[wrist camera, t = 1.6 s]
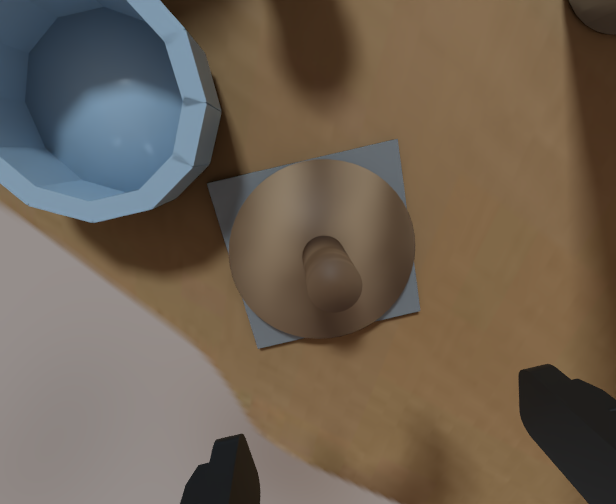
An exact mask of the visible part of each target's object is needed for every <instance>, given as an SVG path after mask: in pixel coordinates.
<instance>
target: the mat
mask: <svg viewBox="0 0 616 504" xmlns="http://www.w3.org/2000/svg"><path fill="white" fill-rule="evenodd" d="M314 159H332V160H340V161H345V162H349V163H353V164H356V165H358V166H361V167H363V168H366V169H368V170H369V171H371V172H373V173H375V174H376V175H378V176H379V177H380V178H382V179H383V180H384V181H386V182H387V183H388V184H389V185H390V186H391V187H392V188H393V189H394V190H395V192H396V193H397V194H398V196H399V197H400V198H401V200H402V201H403V203H404V205H405V207H406V199H405V192H404V184H403V177H402V169H401V161H400V154H399V146H398V139H395V140H390V141H386V142H382V143H377V144H373V145H369V146H365V147H360V148H356V149H352V150H347V151H343V152H339V153H335V154H330V155H326V156H322V157H317V158H313V159H309V160H314ZM305 161H308V160H305ZM300 162H302V161H300ZM296 163H299V162H296ZM292 164H295V163H292ZM292 164H288V165H283V166H279V167H275V168H270V169H266V170H262V171H258V172H253V173H249V174H245V175H240V176H236V177H232V178H228V179H223V180H219V181H215V182H210V183H207V186H208V189H209V193H210V196H211V199H212V202H213V205H214V209H215V212H216V215H217V218H218V221H219V225H220V228H221V231H222V234H223V238H224V241H225V244H226V247H227V250H228V254H229V241H230V235H231V230H232V227H233V224H234V221H235V218H236V216H237V214H238V212H239V210H240V208H241V206H242V205H243V203H244V202H245V200H246V199H247V197H248V196H249V195H250V194H251V193H252V192H253V190H254V189H255V188H256V187H257V186H258V185H259V184H260V183H261V182H263V181H264V180H265V179H266V178H267V177H269V176H270V175H272V174H274V173H275V172H277V171H278V170H280V169H283V168H285V167H287V166H289V165H292ZM406 209H407V207H406ZM242 299H243V298H242ZM243 302H244V305H245V308H246V312H247V315H248V318H249V321H250V324H251V328H252V331H253V334H254V337H255V341H256V344H257V347H258V349H259V348H263V347H268V346H272V345H276V344H281V343H285V342H289V341H293V340H298V339H302V338H305V337H299V336H295V335H291V334H288V333H285V332H283V331H281V330H278V329H276V328H274V327H273V326H271V325H269V324H268V323H266V322H265V321H263V320H262V319H261V318H260V317H258V316H257V315H256V314H255V313H254V312H253V311H252V310H251V309H250V308H249V306H248V305H247V304H246V302H245V301H244V300H243ZM418 311H420V305H419V297H418V290H417V282H416V274H415V267H414V262H413V267H412V271H411V274H410V277H409V280H408V282H407V284H406V286H405V288H404V290H403V292H402V293H401V295H400V296H399V298H398V299H397V300H396V302H395V303H394V304H393V305H392V306H391V308H390V309H389V310H388V311H386V312H385V313H384V314H383V315H382V316H381V317H380V318H378V319H377V320H376V321H379V320H384V319H388V318H392V317H397V316H401V315H405V314H409V313H414V312H418ZM374 322H375V321H374Z"/></svg>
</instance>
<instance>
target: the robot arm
mask: <svg viewBox="0 0 616 504" xmlns="http://www.w3.org/2000/svg"><path fill="white" fill-rule="evenodd" d="M569 3H570V4H571V6H572V8H573V10H574V12H575V14H576V15H577V16H578V17H579V18H580V19H581V21H582V22H583V23H584V24H585V25H587V26H589V27H590V28H592V29H593V30H595V31H598V32H601V33H605V34H616V0H569ZM519 407H520V416H521V419H522V422H523V424H524V426H525V428H526V430H527V432H528V433H529V435H530V436H531V437H532V438H533V440H534V441H535V442H536V443H537V444H538V445H539V447H540V448H541V449H542V450H543V451H544V452H545V454H546V455H547V456H548V457H549V458H550V459H551V460H552V462H553V463H554V464H555V465H556V466H557V467H558V469H559V470H560V471H561V472H562V473H563V474H564V476H565V477H566V478H567V479H568V480H569V481H570V482H571V484H572V485H573V486H574V487H575V488H576V489H577V491H578V492H579V493H580V494H581V495H582V496H583V498H584V499H585V500H586V501H587V502H588V503H589V504H616V400H615V399H614V398H613V397H611V396H610V395H609V394H607V393H606V392H605V391H603V390H602V389H599V388H597V387H595V386H593V385H591V384H589V383H586V382H584V381H582V380H580V379H574V380H571V379H570V378H568V377H567V376H566V375H565V374H563V373H562V372H561V371H560V370H558V369H557V368H556V367H554V366H553V365H550V364H545V365H541V366H536V367H532V368H528V369H523V370H521V371H520V372H519ZM180 504H260V483H259V477H258V472H257V469H256V467H255V464H254V461H253V458H252V455H251V452H250V450H249V447H248V444H247V441H246V438H245V436H244V435H243V434H238V435H234V436H229V437H225V438H221V439H217V440H216V441H215V443H214V445H213V449H212V454H211V458H210V462H209V463H206V464H202V465H198V467H197V468H196V470H195V471H194V473H193V474H192V476H191V478H190V479H189V481H188V482H187V484H186V486H185V489H184V493H183V496H182V499H181V503H180Z"/></svg>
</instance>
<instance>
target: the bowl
mask: <svg viewBox="0 0 616 504" xmlns="http://www.w3.org/2000/svg"><path fill="white" fill-rule="evenodd" d="M220 118H221V107H220V104H219V100H218V97H217V93H216V90H215V86H214V82H213V79H212V75H211V72H210V68H209V64H208V61H207V57H206V54H205V52H204V51H203V50H202V49H201V47H200V46H199V45H198V44H197V43H196V41H195V40H194V39H193V38H192V36H191V35H190V34H189V33H188V32H187V30H186V29H185V28H184V27H183V26H182V25H181V23H180V22H179V21H178V20H177V19H176V18H175V17H174V16H173V14H172V13H171V12H170V11H169V10H168V9H167V8H166V7H165V5H164V4H163V3H162V2H161V1H160V0H0V183H1V184H2V185H3V186H4V187H6V188H7V189H8V190H9V191H10V192H12V193H13V194H14V195H15V196H17V197H18V198H19V199H20V200H21V201H23V202H24V203H25V204H26V205H29V206H31V207H35V208H38V209H42V210H46V211H49V212H53V213H57V214H61V215H64V216H68V217H72V218H76V219H79V220H83V221H87V222H90V223H96V222H100V221H104V220H109V219H113V218H117V217H122V216H126V215H130V214H134V213H139V212H143V211H147V210H151V209H154V208H156V207H158V206H160V205H163V204H165V203H167V202H169V201H172V200H174V199H176V198H177V197H178V196H179V195H180V194H181V193H182V192H183V191H184V190H185V189H186V188H187V187H188V186H189V185H190V184H191V183H192V182H193V181H194V180H195V179H196V178H197V177H198V176H199V175H200V174H201V173H202V172H203V171H204V170H205V169H206V168H207V167H208V166H209V165H210V162H211V157H212V153H213V149H214V144H215V140H216V135H217V131H218V126H219V122H220Z"/></svg>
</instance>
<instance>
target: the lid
mask: <svg viewBox="0 0 616 504" xmlns="http://www.w3.org/2000/svg"><path fill="white" fill-rule="evenodd" d="M414 257H415V235H414V230H413V225H412V221H411V219H410V216H409V213H408V211H407V209H406V207H405V205H404V203H403V201H402V200H401V198H400V197H399V196H398V194H397V193H396V192H395V190H394V189H393V188H392V187H391V186H390V185H389V184H388V183H387V182H386V181H384V180H383V179H382V178H380V177H379V176H378V175H376V174H375V173H373V172H371V171H369V170H368V169H366V168H363V167H361V166H358V165H356V164H353V163H349V162H345V161H340V160H332V159H314V160H308V161H302V162H299V163H295V164H292V165H289V166H287V167H285V168H283V169H280V170H278V171H277V172H275V173H274V174H272V175H270V176H269V177H267V178H266V179H265V180H264V181H263V182H261V183H260V184H259V185H258V186H257V187H256V188H255V189H254V190H253V192H252V193H251V194H250V195H249V196H248V197H247V199H246V200H245V202H244V203H243V205H242V206H241V208H240V210H239V212H238V214H237V216H236V218H235V221H234V224H233V227H232V230H231V235H230V241H229V263H230V269H231V273H232V277H233V280H234V282H235V285H236V288H237V290H238V291H239V293H240V295H241V297H242V298H243V300H244V301H245V302H246V304H247V305H248V306H249V308H250V309H251V310H252V311H253V312H254V313H255V314H256V315H257V316H258V317H260V318H261V319H262V320H263V321H265V322H266V323H268V324H269V325H271V326H273V327H274V328H276V329H278V330H281V331H283V332H285V333H288V334H291V335H295V336H299V337H305V338H316V339H322V338H333V337H339V336H343V335H347V334H350V333H353V332H355V331H358V330H360V329H362V328H364V327H366V326H368V325H369V324H371V323H373V322H374V321H376V320H377V319H378V318H380V317H381V316H382V315H383V314H384V313H385V312H386V311H388V310H389V309H390V308H391V306H392V305H393V304H394V303H395V302H396V300H397V299H398V298H399V296H400V295H401V293H402V292H403V290H404V288H405V286H406V284H407V282H408V280H409V277H410V274H411V271H412V267H413V262H414Z"/></svg>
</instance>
